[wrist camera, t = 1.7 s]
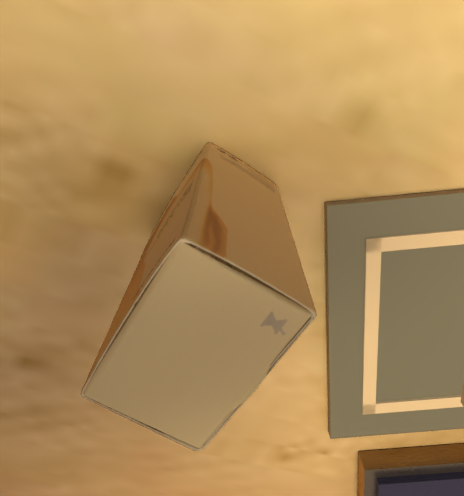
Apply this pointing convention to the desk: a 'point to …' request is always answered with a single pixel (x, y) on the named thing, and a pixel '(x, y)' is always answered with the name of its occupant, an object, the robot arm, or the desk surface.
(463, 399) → the robot arm
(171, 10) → the desk surface
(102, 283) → the desk surface
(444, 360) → the marked board
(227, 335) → the skincare box
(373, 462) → the ink pad
